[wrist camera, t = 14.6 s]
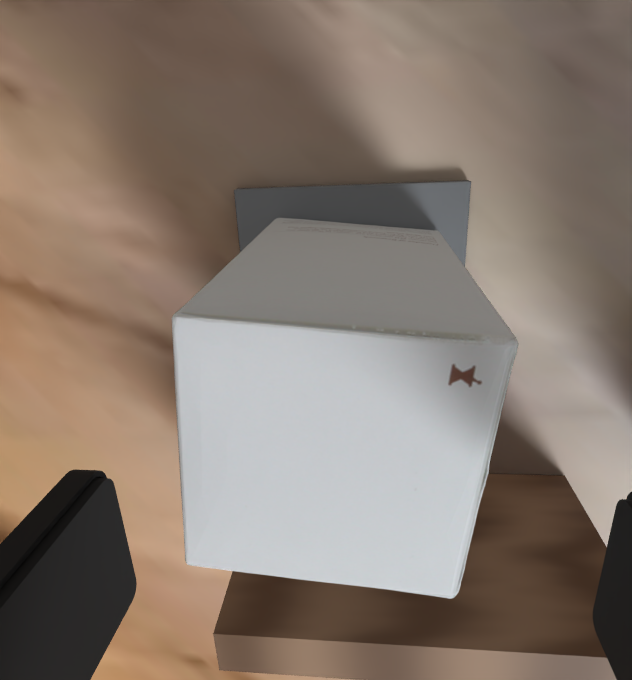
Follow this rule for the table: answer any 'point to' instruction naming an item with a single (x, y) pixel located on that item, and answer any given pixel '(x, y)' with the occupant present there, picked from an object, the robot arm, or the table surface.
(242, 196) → the mat
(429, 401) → the supplement box
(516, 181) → the table surface
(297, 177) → the table surface
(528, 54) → the table surface
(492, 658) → the walnut screen
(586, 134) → the table surface
